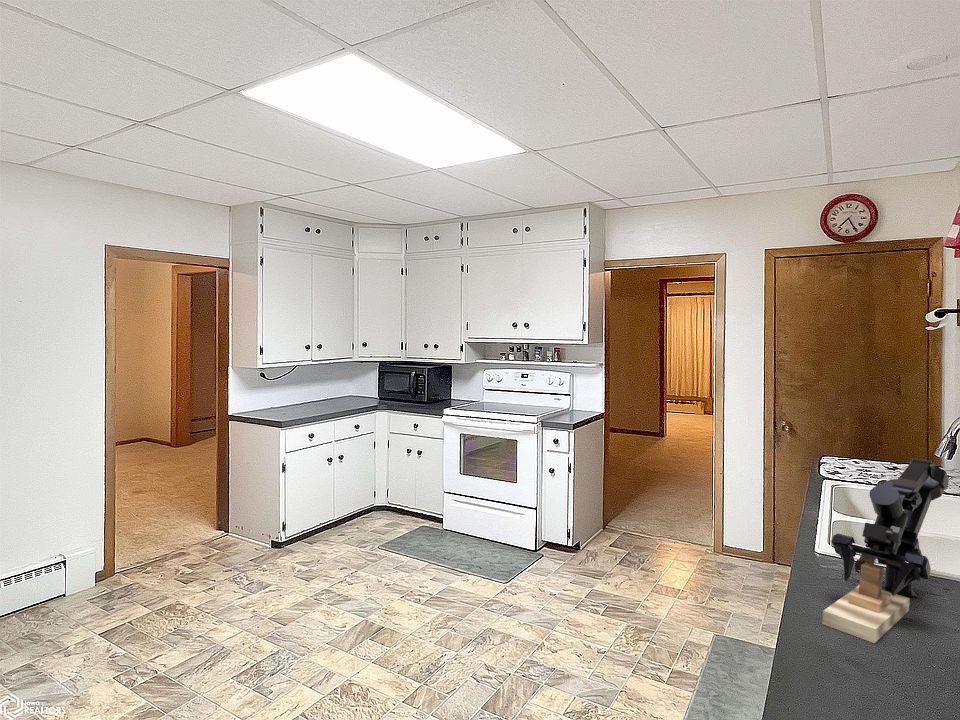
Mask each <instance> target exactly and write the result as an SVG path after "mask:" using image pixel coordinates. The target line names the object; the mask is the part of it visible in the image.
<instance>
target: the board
mask: <svg viewBox="0 0 960 720" xmlns="http://www.w3.org/2000/svg"><path fill="white" fill-rule="evenodd" d="M858 587H859V584H858V585H857V586H855V587H854V588H853V589H851V590H850V591H849V592H847V593H846V594H844V595H843V596H842V597H841V598H839V599H837V600H836V601H835V602H833V603H832V604H830V605H829V606H828V607H826V608H825V609H824V610H822V621H821V622H822V623H821V625H824V626H827V627H828V628H832V629H835V630H837V631H840V632H842V633H845V634H848V635H850V636H854V637H857V638H858V639H862V640H864V641H867V642H869V643H872V644H876V643H877V642H878V641H879V640H881V638H882V637H883V636H884V635H885V634H887V632H889V630H891V628H893V626H895V625H896V623H898V622H899V621H900V620H901V619H902V618H903V617H905V615H906V614H907V613H908V612H909V611H910V600H911V597H908V596H902V595H897V594H896V595H894V596H893V595H892V594H891V592H887V591H885V590H884V589H882V592H884V593H887V594H890V595H891V601H890V604H889V605H888V606H887V607H885V608H884V609H883V610H882V611H881V612H880V613H877V612H874V611H871V610H868V609H865V608H862V607H859V606H856V605H853V604H850V603H848V600H849V594H850V593H851V592H853V591H854V590H856V589H857V588H858Z"/></svg>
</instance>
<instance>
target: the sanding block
mask: <svg viewBox="0 0 960 720" xmlns="http://www.w3.org/2000/svg"><path fill="white" fill-rule="evenodd" d="M883 579H884V566H880V565H878V564H877V565H876V564H874V563H873V564H870V563H866V562H865V563H864V564H862V565H861V571H860V573H859V584H858V585H859V587H858V588H857V589H856V590H854V591H853V592H851V593H850V594H849V600H848V603H850V604H853V605H856V606H859V607H862V608H865V609H868V610H871V611H874V612H877V613H880V612H881V611H882V610H883V609H884V608H885V607H887V606H888V605H889V604H890V601H891V595H890V594H887V593H884V592H882V590H883V587H882V582H884V581H883Z"/></svg>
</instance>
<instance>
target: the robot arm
mask: <svg viewBox="0 0 960 720" xmlns="http://www.w3.org/2000/svg"><path fill="white" fill-rule="evenodd" d="M949 480H950V479H949V476H948V473H947V470H944V469H943V468H941V467H939V466H937V465H936V463H935V462H933V461H931V460H926V459H920V458H910V460H909V463H908V466H907V467H906V468H905V469H904V471H903V472H902V473H901V474H900V476H898V478H893V479H892V478H891V479H888V480H887V481H886V480H884V481H883V484H879V485H875V486H874V487H872V488H871V489H870V491H869V498H870V502H871V504H872V505H871V506H872V508H873V511H874V513H875V514H876V519H875V521H874V523H870V522H865V523H864V525H863V531H862V537H864V538H863V542H864V543H865V544H867V546H865V545H861V544H859V543H856V542H855V539H854V537H853V536H850V535H845V534H841V533H839V532H838V533H836V534H834V535H833V536H832V538H831V541H830V542H831V543H832V546H833V549H834V552H835V553H836V554H837V555H839V557H840V558H841V560H843V573H844V581H846V582H848V580H849V579H850V577H851V574H852V571H853V569H854V566H855V562H856V560H855V557H856V555H857V554H859V555H860V554H861V555H862V554H863V555H867V556H871V557H874V558H875V559H877V564H880V565H884V566H885V576H884V577H885V578H884V581H882V590H884V591H887V592H891V594H892V595H893V596H894V595H896V594H897V595H900V596H904V597H907V598H915V599H917V598H918V595H917V594H916V593H915V591H914V589H913V588H914V587H913V586H914V581H921V580H922V579H924V580H929V579H930V575H931V572H932V571H931V564H930V561H929V559H928V557H927V556H926V555H923V554H922V550H921V548H920V544H919V543H920V541H919V538H918V535H919V534H920V530H921V528H922V526H923V523H924V520H925V518H926V516H927V512H928V510H929V507H930V505H931V502H932V501H934V500H937V499H938V498H941V497H942V496H943V495H944V492H945V490H948V487H949V482H950V481H949Z"/></svg>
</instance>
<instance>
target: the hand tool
mask: <svg viewBox="0 0 960 720" xmlns="http://www.w3.org/2000/svg"><path fill="white" fill-rule="evenodd" d="M864 546H867V543H865V545H864ZM874 560H875V561H876V558H874V557H871V556H867V555H863V554H861V555H860V556H859V559H856V560H855V562H854V570H855V569H856V570H860V571H861V565H862V564H864V563H865V562H866V563H870V564H873V565H874V562H875V561H874ZM856 570H855V571H856Z"/></svg>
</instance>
